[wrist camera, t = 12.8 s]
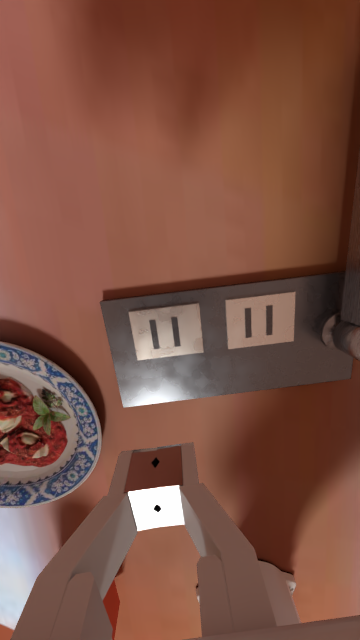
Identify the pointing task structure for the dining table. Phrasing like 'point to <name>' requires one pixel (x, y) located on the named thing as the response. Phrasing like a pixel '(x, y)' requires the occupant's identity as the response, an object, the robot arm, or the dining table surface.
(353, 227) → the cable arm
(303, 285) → the double power outlet
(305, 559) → the dining table surface
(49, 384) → the ceramic plate
